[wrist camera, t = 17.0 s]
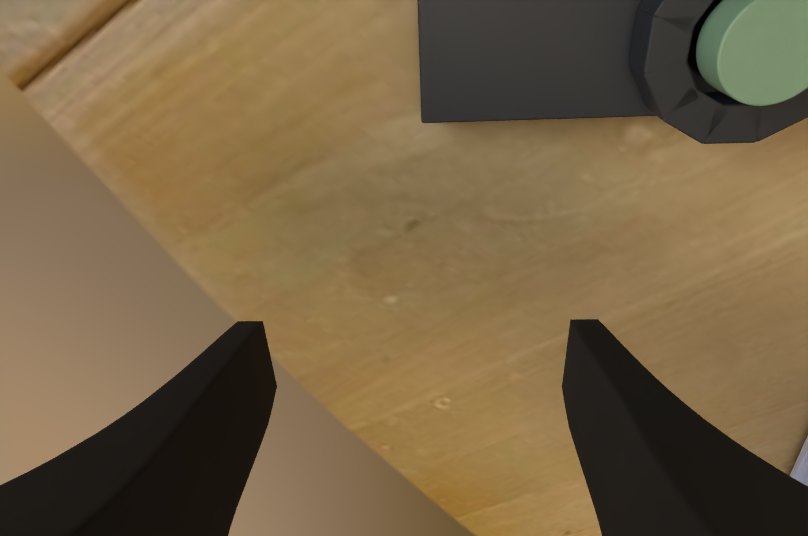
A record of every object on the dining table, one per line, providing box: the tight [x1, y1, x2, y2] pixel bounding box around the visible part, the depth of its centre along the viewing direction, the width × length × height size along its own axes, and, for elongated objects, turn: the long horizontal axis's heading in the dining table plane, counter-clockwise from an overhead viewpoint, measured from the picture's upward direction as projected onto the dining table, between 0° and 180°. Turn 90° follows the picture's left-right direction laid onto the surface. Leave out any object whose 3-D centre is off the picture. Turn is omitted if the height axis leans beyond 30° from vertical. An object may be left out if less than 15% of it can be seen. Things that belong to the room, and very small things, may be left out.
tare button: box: [696, 0, 808, 106], centre depth 15 cm, size 3×3×2 cm
